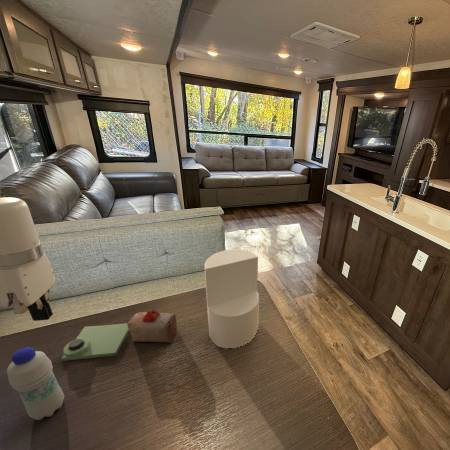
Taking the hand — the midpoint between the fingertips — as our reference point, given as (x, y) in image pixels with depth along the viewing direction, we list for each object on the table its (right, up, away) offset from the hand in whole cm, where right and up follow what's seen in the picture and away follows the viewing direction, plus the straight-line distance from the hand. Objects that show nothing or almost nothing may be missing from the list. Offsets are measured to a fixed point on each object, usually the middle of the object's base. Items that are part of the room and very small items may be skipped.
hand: (43, 317), depth 61 cm
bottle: (+1, -23, 0) cm, 23 cm away
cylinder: (+40, -15, +28) cm, 51 cm away
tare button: (-4, -14, +13) cm, 19 cm away
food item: (+15, -15, +22) cm, 31 cm away
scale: (-1, -15, +18) cm, 23 cm away
